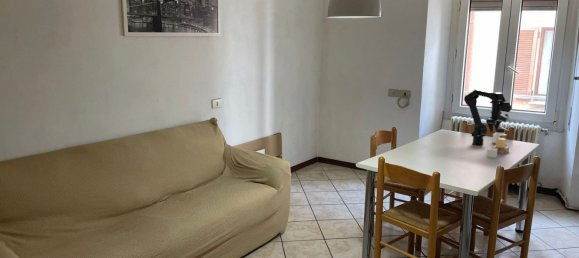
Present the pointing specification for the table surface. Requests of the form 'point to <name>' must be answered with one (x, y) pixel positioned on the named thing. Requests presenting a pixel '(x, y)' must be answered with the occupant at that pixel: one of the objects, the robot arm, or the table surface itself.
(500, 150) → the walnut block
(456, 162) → the table surface
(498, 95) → the robot arm
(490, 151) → the grey block
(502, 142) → the ochre block
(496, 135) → the medicine bottle
